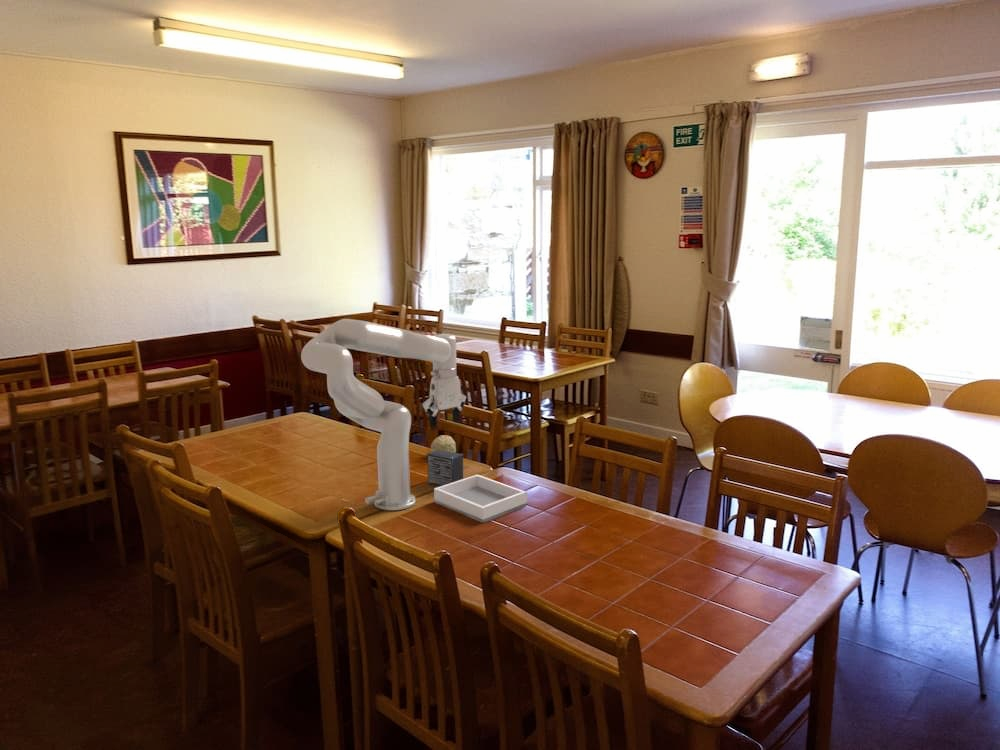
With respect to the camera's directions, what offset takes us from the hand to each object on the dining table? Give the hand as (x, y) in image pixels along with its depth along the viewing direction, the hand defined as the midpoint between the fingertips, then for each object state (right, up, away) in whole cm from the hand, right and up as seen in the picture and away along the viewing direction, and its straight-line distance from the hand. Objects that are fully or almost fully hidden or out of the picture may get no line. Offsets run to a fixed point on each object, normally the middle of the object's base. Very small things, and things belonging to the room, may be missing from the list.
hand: (445, 424), depth 231 cm
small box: (0, -20, +4) cm, 20 cm away
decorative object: (-3, -14, +33) cm, 36 cm away
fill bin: (+12, -23, -14) cm, 29 cm away
